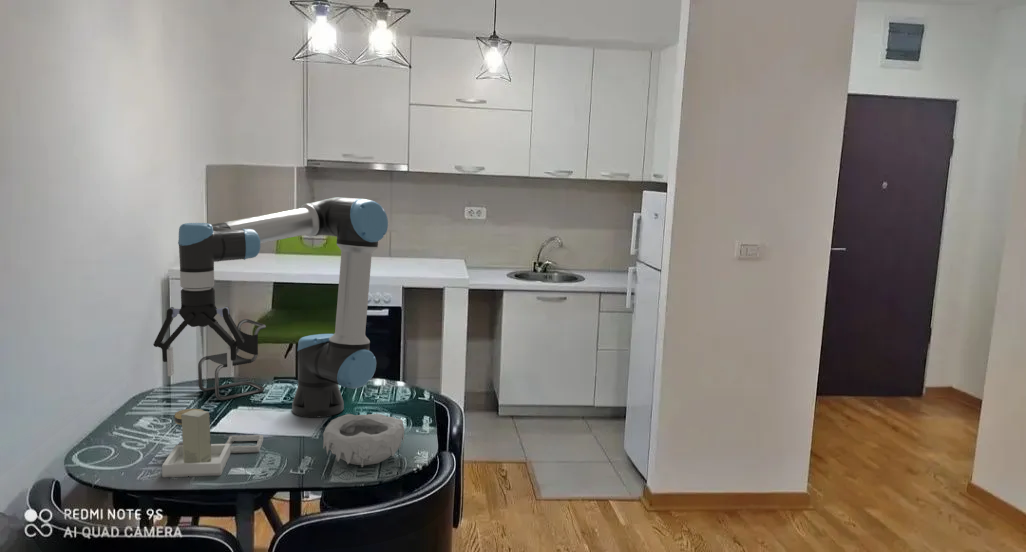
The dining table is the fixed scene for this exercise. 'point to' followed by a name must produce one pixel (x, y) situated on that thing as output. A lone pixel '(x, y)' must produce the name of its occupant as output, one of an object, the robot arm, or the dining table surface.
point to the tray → (178, 468)
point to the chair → (234, 362)
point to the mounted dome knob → (179, 420)
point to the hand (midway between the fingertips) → (200, 374)
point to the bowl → (363, 438)
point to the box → (196, 436)
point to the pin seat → (245, 448)
